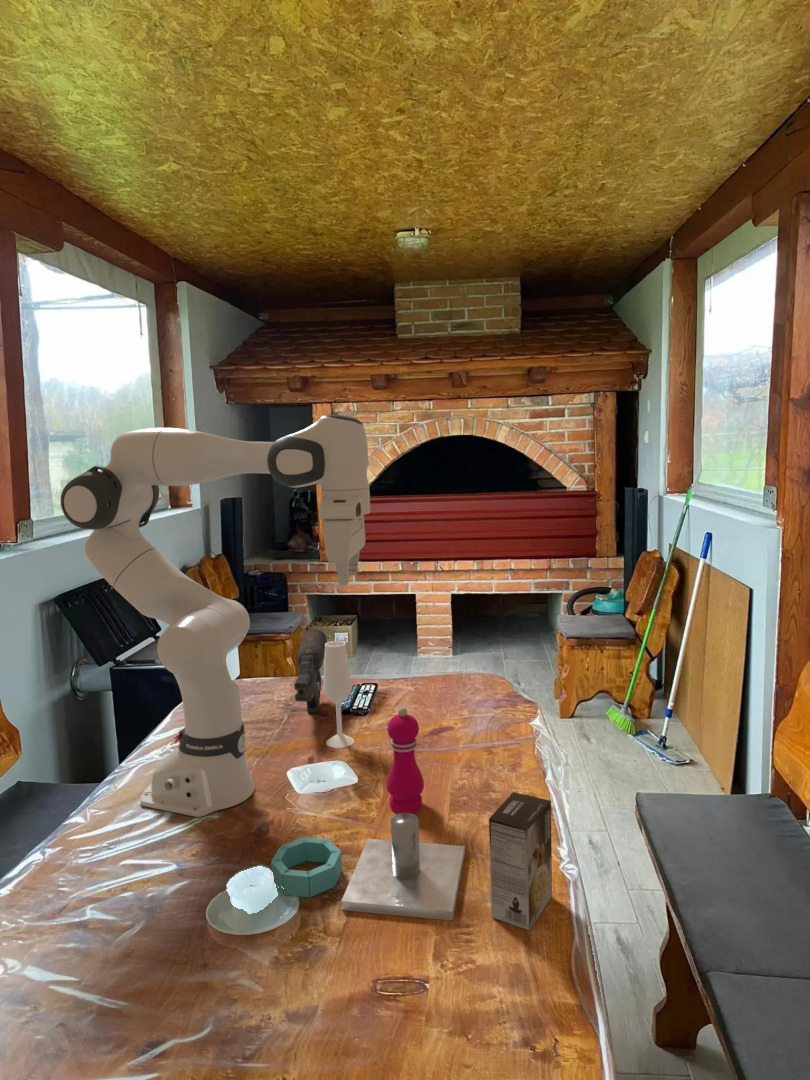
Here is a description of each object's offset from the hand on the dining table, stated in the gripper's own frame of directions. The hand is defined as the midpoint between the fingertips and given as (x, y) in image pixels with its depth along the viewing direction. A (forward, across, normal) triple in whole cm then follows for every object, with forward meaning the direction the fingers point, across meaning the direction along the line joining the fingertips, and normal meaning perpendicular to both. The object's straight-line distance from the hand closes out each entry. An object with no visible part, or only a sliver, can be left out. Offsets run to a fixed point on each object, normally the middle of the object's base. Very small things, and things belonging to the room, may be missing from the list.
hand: (348, 578), depth 131 cm
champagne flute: (+46, -30, -9) cm, 55 cm away
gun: (+46, -46, -20) cm, 68 cm away
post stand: (+45, +22, +12) cm, 52 cm away
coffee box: (+45, +28, +30) cm, 61 cm away
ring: (+45, +22, -5) cm, 51 cm away
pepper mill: (+46, -1, +9) cm, 46 cm away
